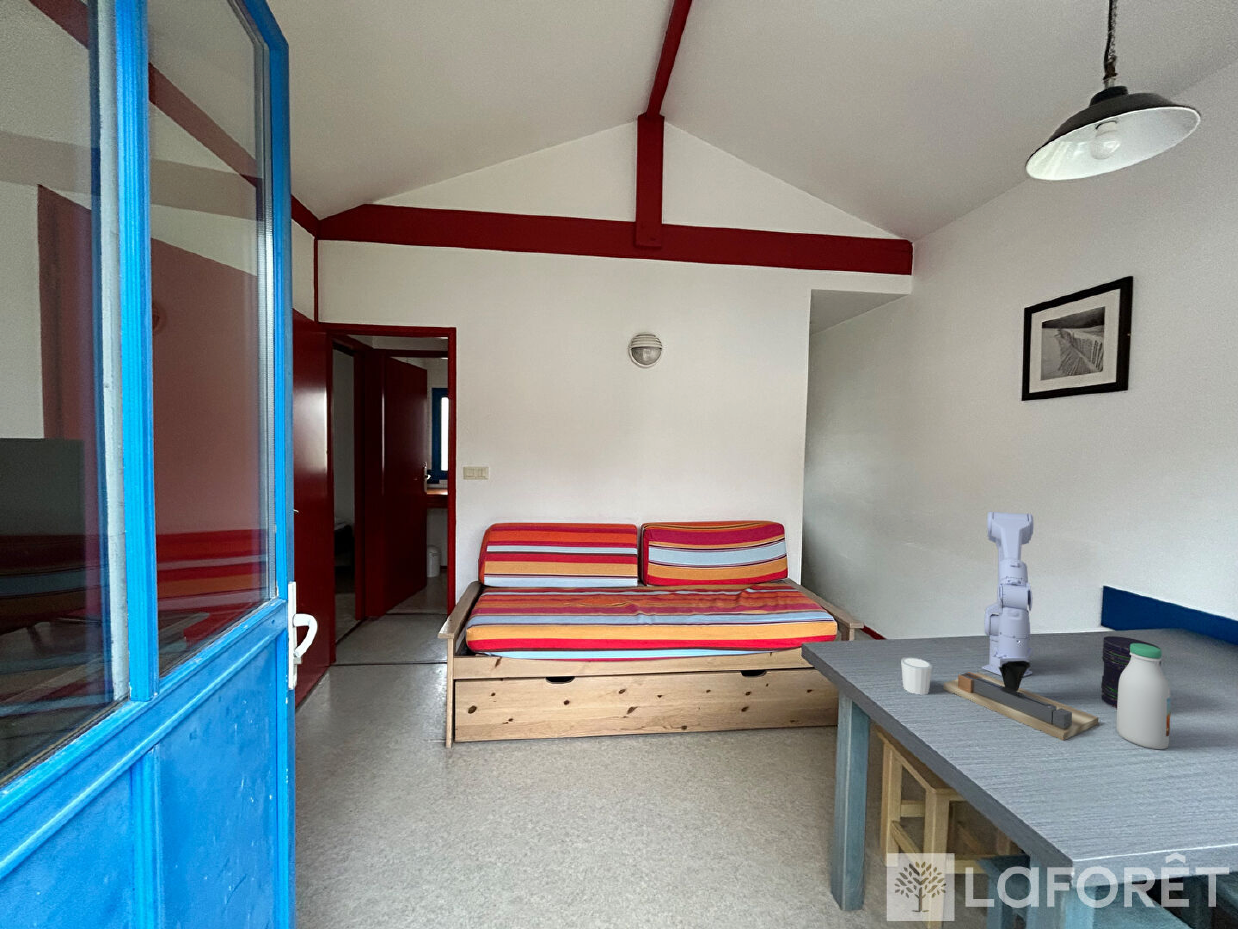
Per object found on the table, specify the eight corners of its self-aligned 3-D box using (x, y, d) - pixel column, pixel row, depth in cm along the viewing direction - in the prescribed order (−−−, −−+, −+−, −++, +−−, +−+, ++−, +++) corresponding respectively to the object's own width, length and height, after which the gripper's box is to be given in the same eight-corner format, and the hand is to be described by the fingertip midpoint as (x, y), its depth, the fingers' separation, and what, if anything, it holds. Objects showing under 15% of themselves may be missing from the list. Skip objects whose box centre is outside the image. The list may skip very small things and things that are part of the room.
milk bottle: (1160, 754, 102) (1164, 657, 101) (1109, 735, 109) (1113, 643, 108) (1175, 744, 106) (1179, 650, 105) (1125, 726, 112) (1128, 637, 112)
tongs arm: (968, 683, 129) (969, 672, 129) (1059, 719, 112) (1059, 706, 112) (963, 685, 128) (963, 673, 128) (1053, 722, 111) (1053, 708, 111)
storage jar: (1101, 691, 129) (1103, 633, 128) (1158, 705, 122) (1160, 643, 121) (1099, 705, 122) (1101, 643, 121) (1159, 720, 115) (1162, 655, 114)
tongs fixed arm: (967, 684, 129) (967, 672, 129) (1071, 726, 109) (1072, 712, 109) (957, 687, 127) (958, 675, 127) (1061, 730, 108) (1062, 716, 108)
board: (978, 678, 136) (978, 672, 136) (1098, 724, 113) (1098, 717, 113) (943, 689, 129) (943, 683, 129) (1063, 740, 107) (1063, 733, 107)
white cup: (936, 697, 125) (936, 669, 125) (905, 694, 127) (906, 667, 126) (925, 684, 132) (925, 658, 132) (896, 682, 133) (897, 656, 133)
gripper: (1011, 624, 129) (1009, 677, 130) (977, 633, 123) (976, 688, 123) (1044, 633, 123) (1042, 688, 123) (1010, 644, 117) (1008, 701, 117)
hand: (1011, 689), depth 123 cm, fingers closed
